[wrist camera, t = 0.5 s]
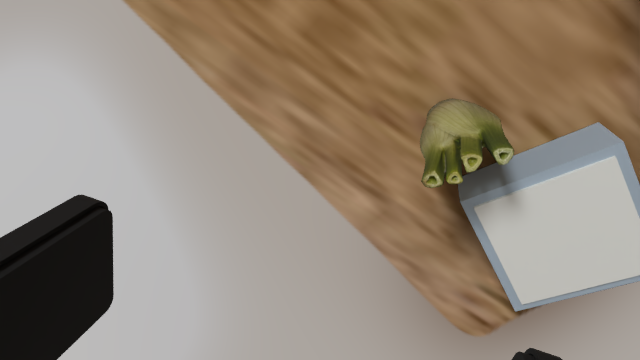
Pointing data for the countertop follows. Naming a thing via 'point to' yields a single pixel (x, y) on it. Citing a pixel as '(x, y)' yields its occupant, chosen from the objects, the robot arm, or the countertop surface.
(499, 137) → the fennel bulb
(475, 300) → the countertop surface
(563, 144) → the base block
